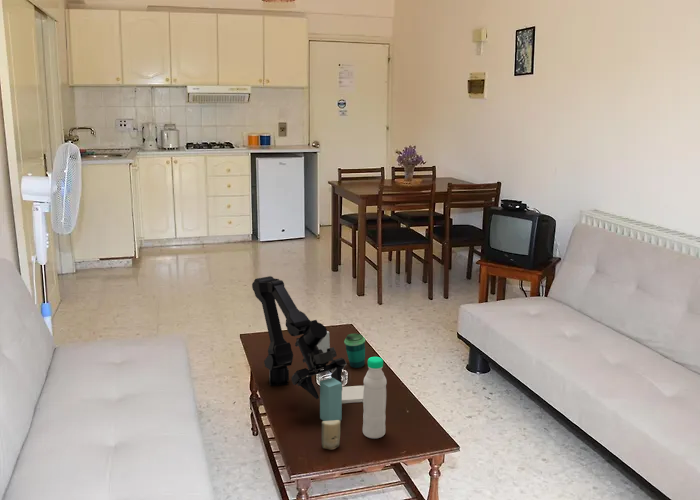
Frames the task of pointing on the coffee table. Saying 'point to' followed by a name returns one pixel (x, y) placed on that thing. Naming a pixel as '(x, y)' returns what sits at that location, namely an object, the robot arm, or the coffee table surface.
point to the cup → (355, 350)
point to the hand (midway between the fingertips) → (329, 394)
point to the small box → (324, 343)
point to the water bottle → (374, 399)
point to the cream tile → (352, 394)
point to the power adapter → (330, 434)
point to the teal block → (330, 400)
